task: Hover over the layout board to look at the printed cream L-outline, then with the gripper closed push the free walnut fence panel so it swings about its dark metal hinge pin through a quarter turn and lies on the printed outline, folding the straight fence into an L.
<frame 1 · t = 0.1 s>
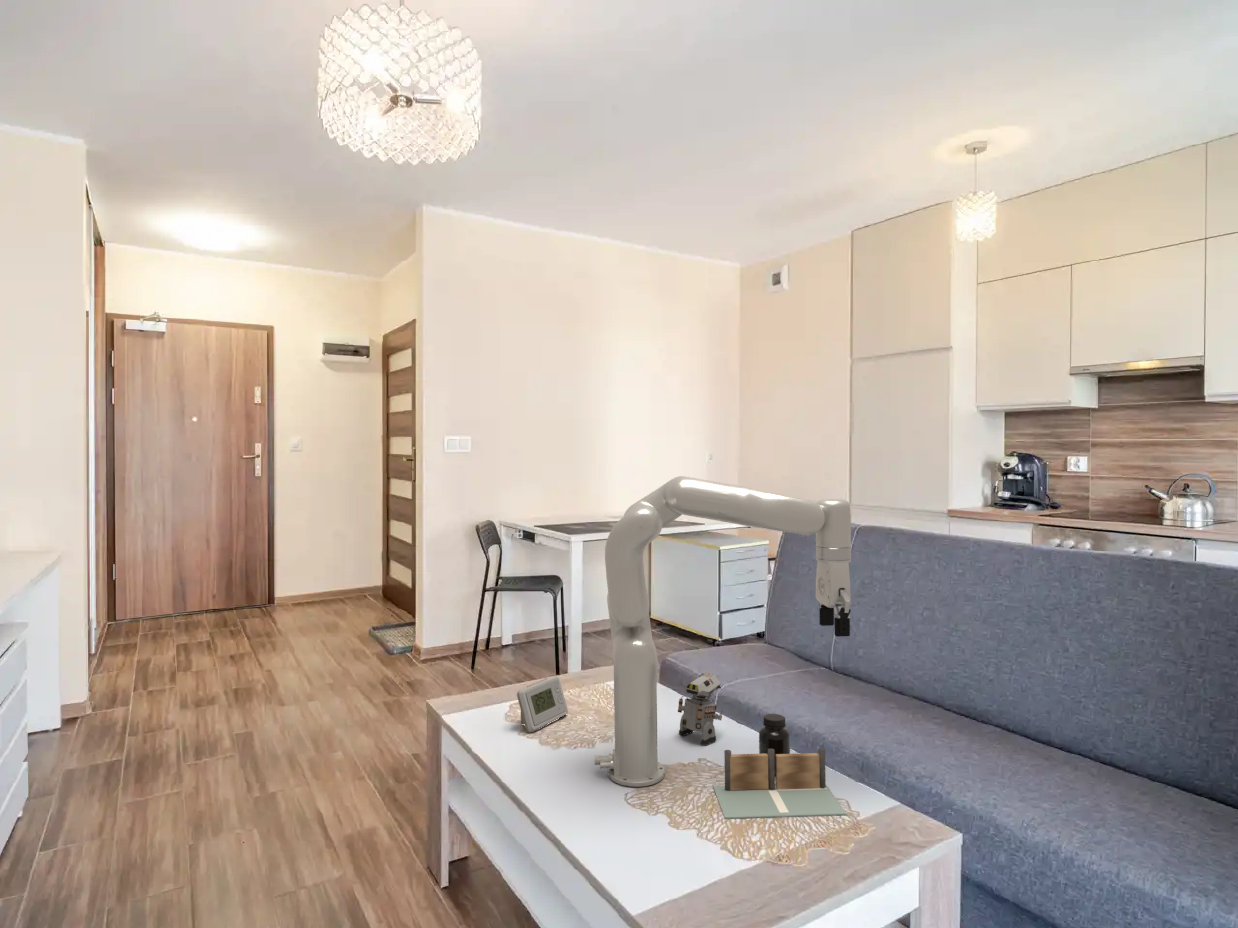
hand: (834, 630, 155), 31 cm above the table, fingers open, 9 cm apart
fence fixed panel: (771, 788, 145), resting on layout board
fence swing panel: (749, 769, 145), point 4 cm above the table, hinge at 0.0°
supplement bottle: (774, 771, 155), on the table
layout board: (777, 800, 141), on the table
figurine: (702, 737, 174), on the table
digital clock: (543, 723, 185), on the table
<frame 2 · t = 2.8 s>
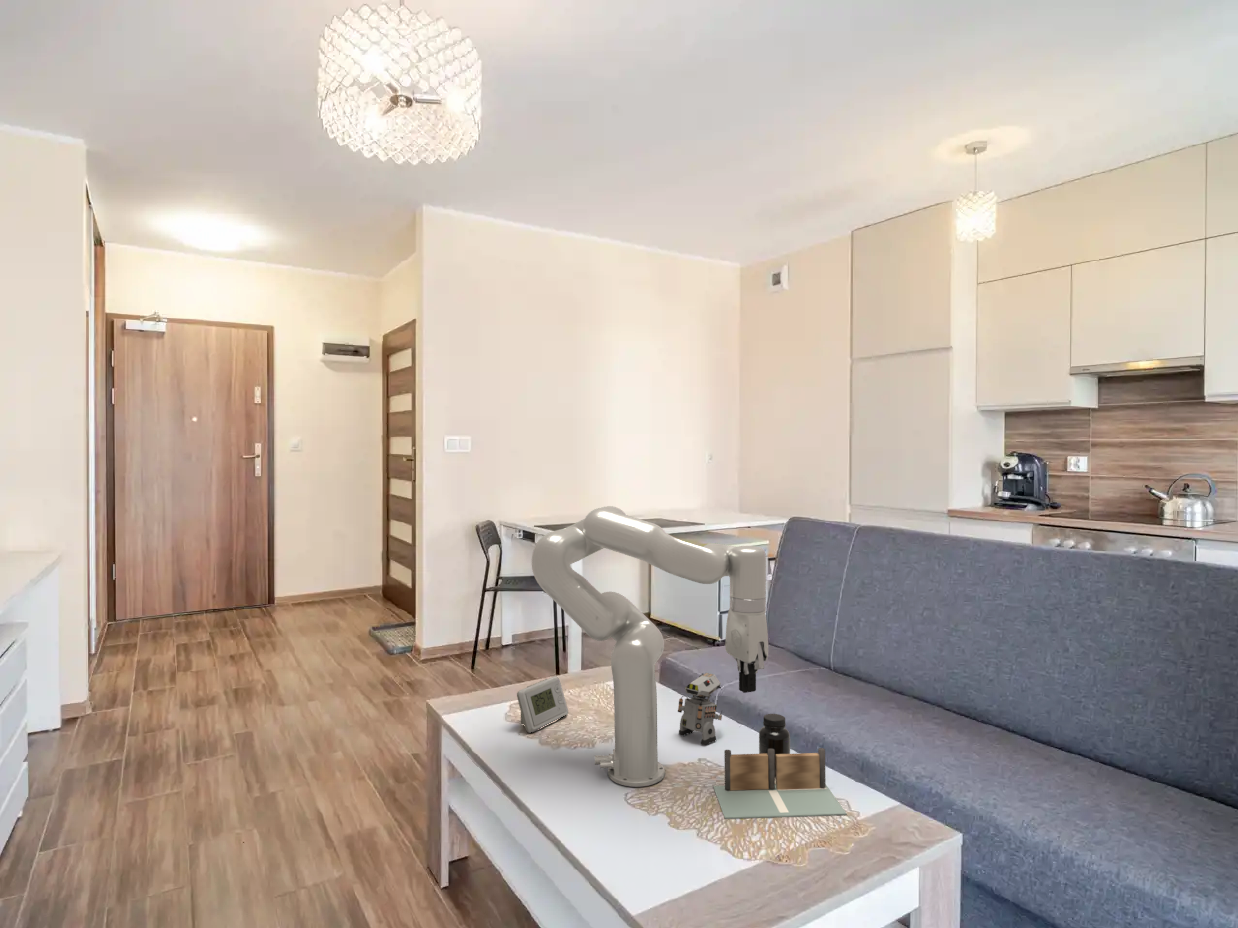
hand: (747, 690, 147), 21 cm above the table, fingers closed
nothing on the table moved.
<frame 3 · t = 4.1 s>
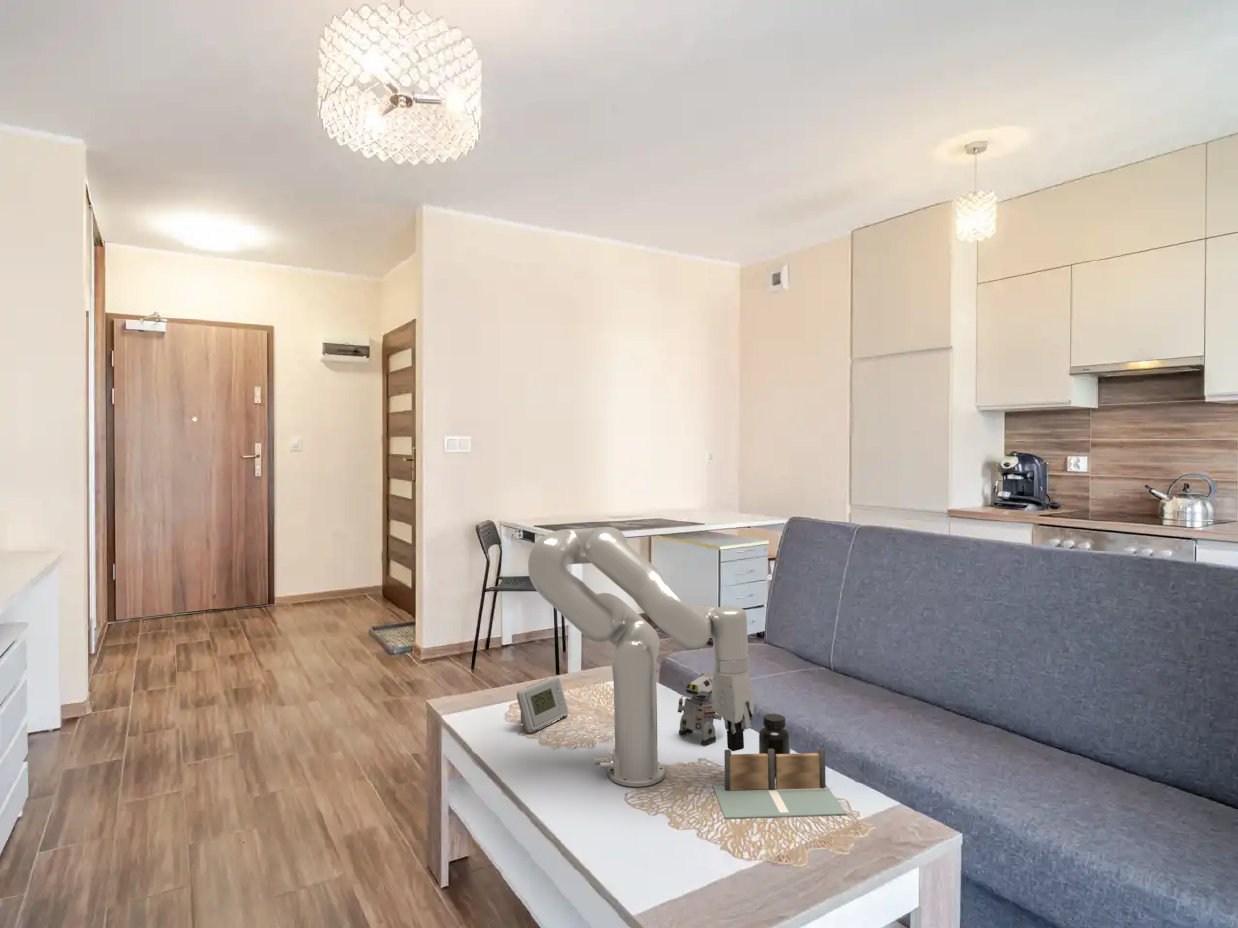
hand: (735, 748, 150), 7 cm above the table, fingers closed
nothing on the table moved.
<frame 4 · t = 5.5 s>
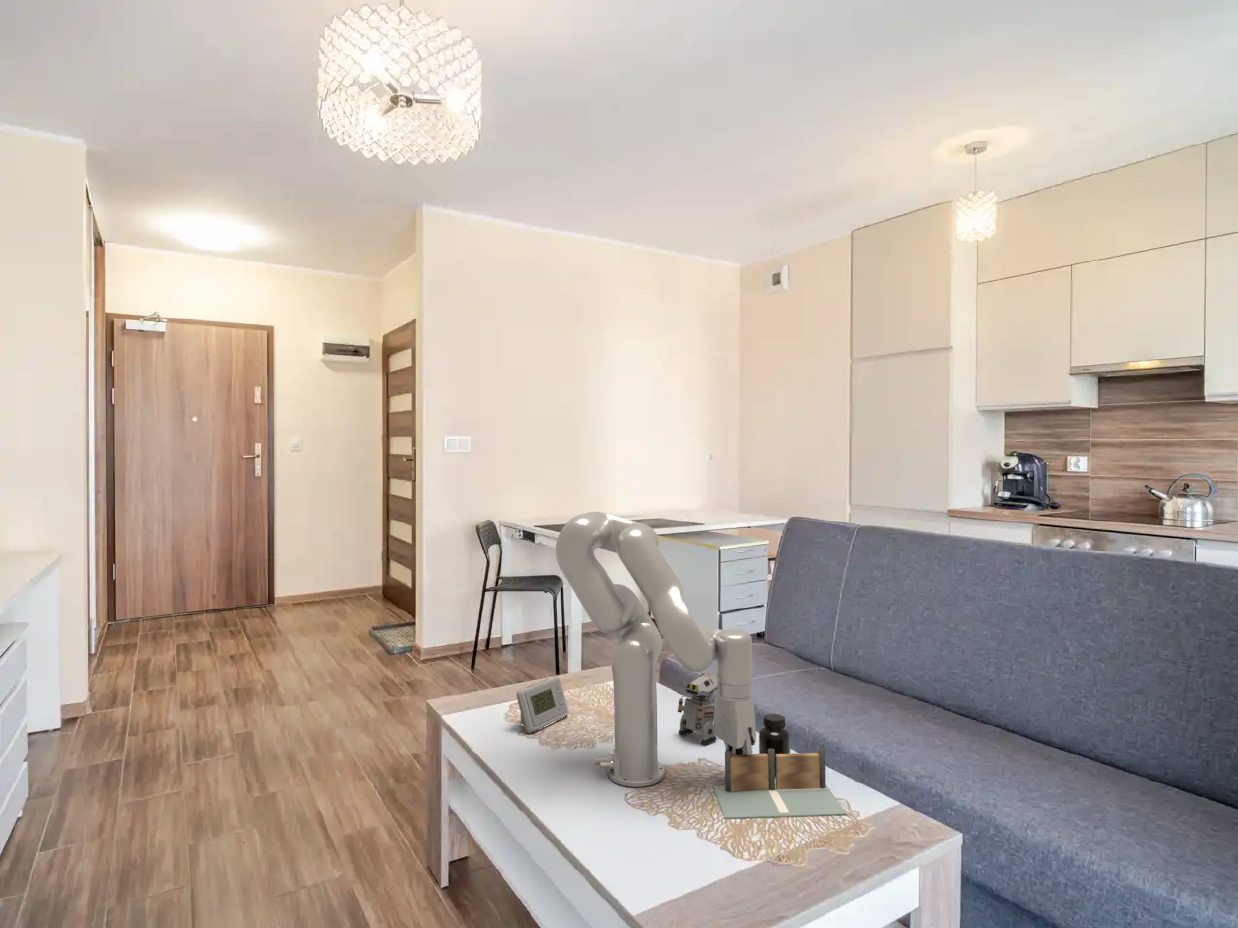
hand: (735, 773, 149), 2 cm above the table, fingers closed
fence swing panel: (749, 769, 145), point 4 cm above the table, hinge at 2.6°, touching gripper
everything else where it was.
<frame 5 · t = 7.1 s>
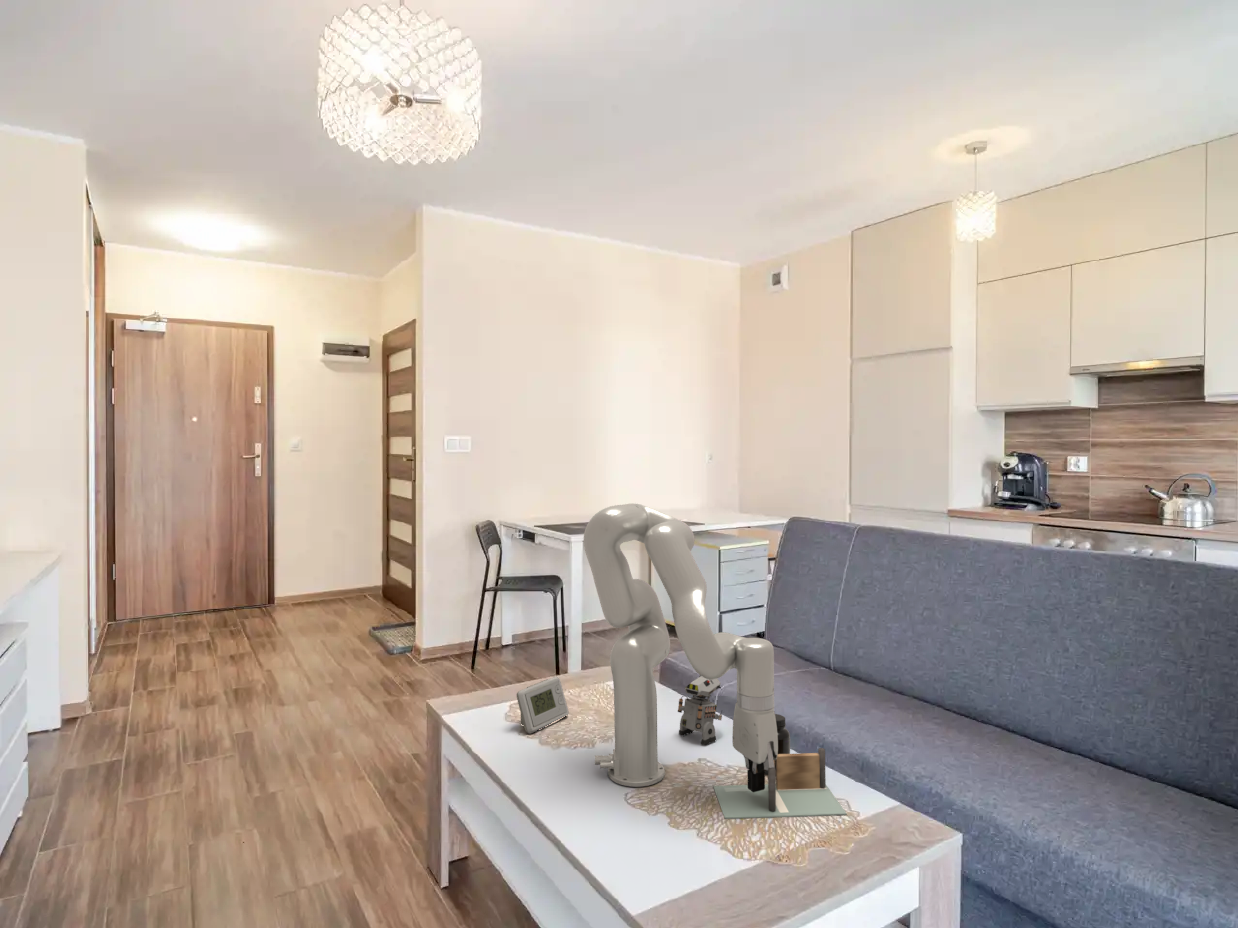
hand: (756, 789, 142), 2 cm above the table, fingers closed
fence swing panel: (771, 778, 141), point 4 cm above the table, hinge at 76.4°, touching gripper
everything else where it was.
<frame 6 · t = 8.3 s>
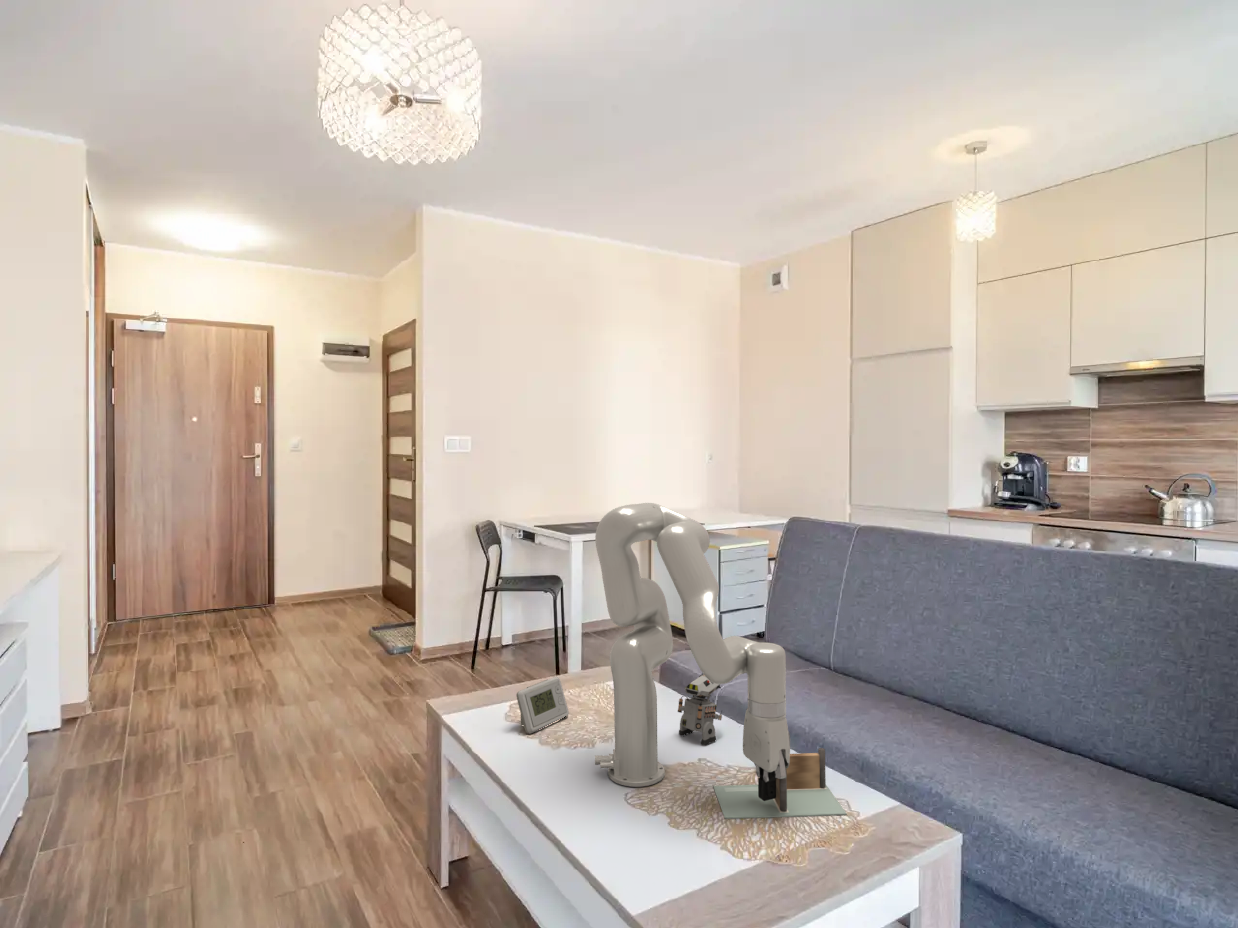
hand: (767, 797, 138), 2 cm above the table, fingers closed
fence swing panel: (777, 778, 141), point 4 cm above the table, hinge at 89.9°, touching gripper
everything else where it was.
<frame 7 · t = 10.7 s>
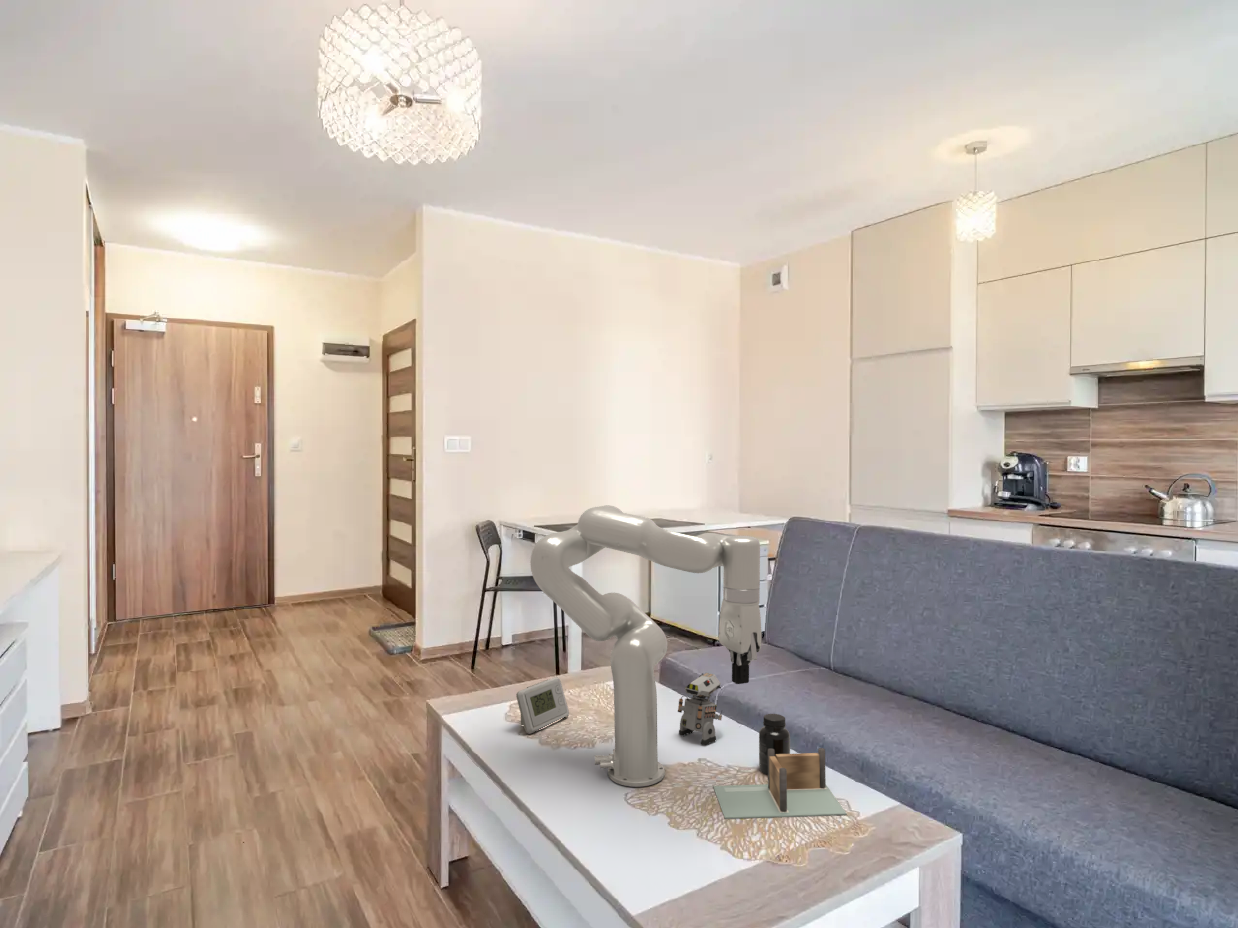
hand: (740, 682, 145), 23 cm above the table, fingers closed
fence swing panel: (777, 778, 141), point 4 cm above the table, hinge at 89.9°
everything else where it was.
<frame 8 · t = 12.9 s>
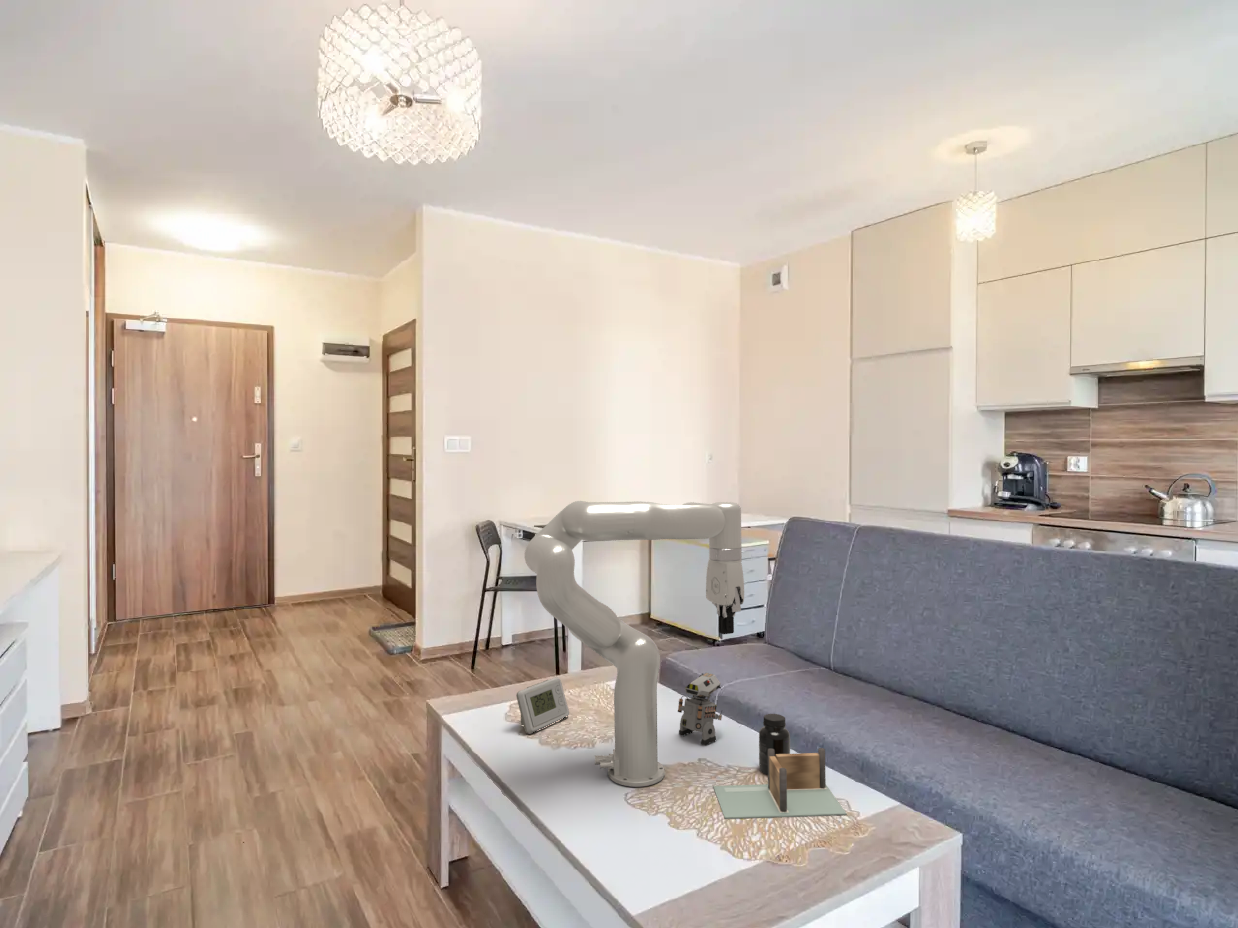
hand: (726, 632, 162), 29 cm above the table, fingers closed
at the end: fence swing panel at +90° (first picture: +0°); supplement bottle moved 0.2 cm from its start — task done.
